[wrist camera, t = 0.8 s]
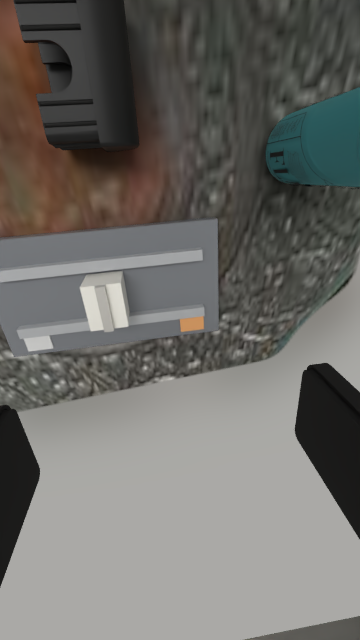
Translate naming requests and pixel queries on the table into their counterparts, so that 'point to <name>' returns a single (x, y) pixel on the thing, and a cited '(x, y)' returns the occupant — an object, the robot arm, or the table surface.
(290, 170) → the beverage bottle
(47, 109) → the end cap
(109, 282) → the knob
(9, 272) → the breaker panel
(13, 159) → the table surface
